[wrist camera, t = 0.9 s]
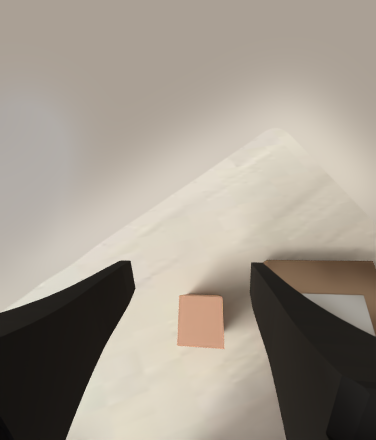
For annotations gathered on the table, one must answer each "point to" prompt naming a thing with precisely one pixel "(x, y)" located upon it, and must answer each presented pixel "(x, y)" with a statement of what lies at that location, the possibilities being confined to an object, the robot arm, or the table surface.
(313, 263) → the base board
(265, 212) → the table surface
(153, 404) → the table surface
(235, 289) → the table surface
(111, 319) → the robot arm
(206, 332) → the terracotta block
